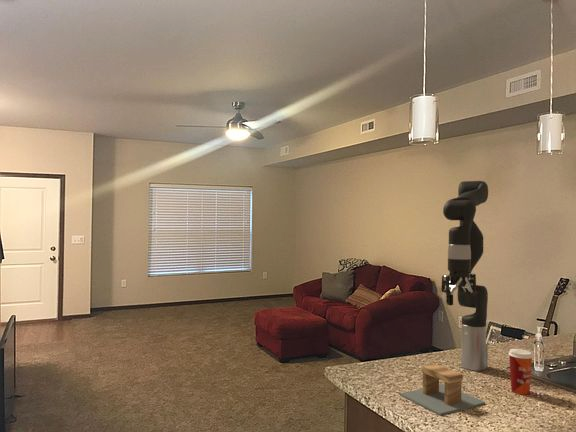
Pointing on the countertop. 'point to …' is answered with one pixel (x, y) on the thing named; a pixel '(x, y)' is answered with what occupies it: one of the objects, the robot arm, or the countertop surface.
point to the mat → (441, 401)
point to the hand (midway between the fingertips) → (458, 304)
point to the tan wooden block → (448, 376)
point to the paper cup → (520, 370)
